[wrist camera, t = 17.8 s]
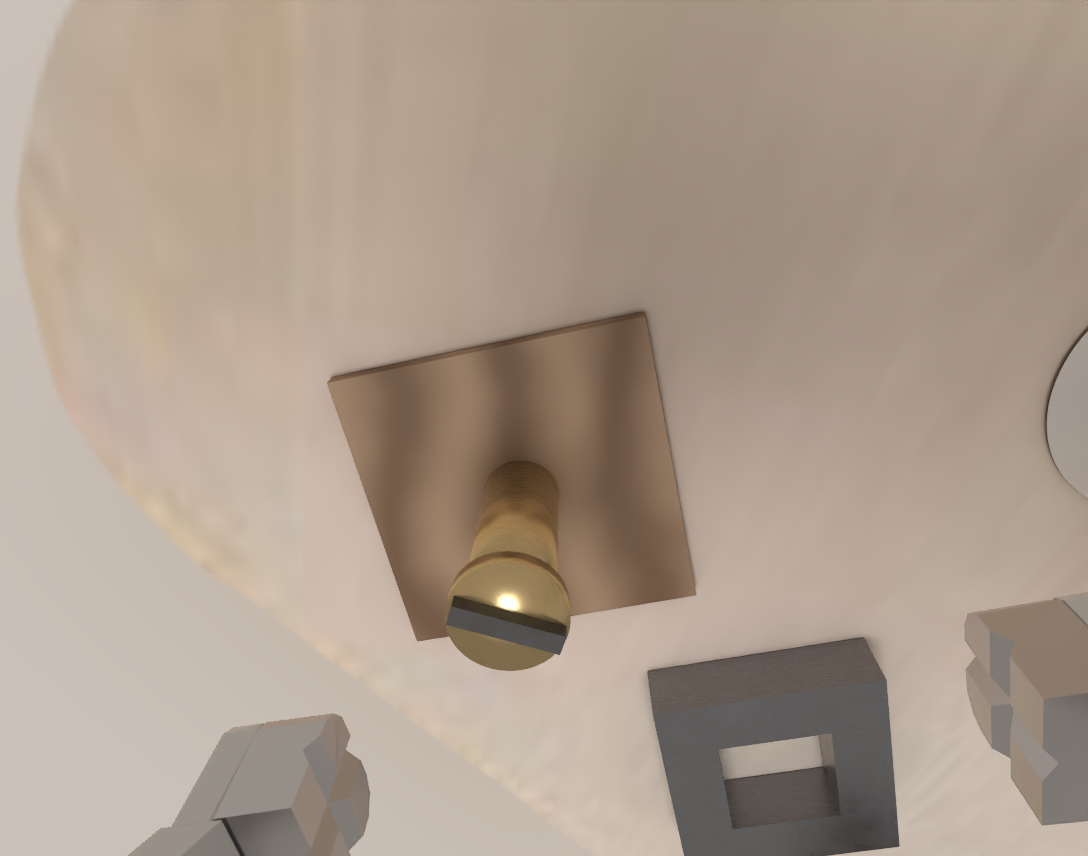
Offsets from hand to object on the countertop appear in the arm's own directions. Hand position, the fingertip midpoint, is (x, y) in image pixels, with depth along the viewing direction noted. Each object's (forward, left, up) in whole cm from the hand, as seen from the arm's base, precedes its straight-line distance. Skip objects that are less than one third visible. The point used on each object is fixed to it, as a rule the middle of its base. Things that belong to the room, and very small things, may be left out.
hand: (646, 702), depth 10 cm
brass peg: (+7, +13, -33) cm, 36 cm away
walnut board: (+7, +13, -34) cm, 37 cm away
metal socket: (-5, +35, -34) cm, 49 cm away
